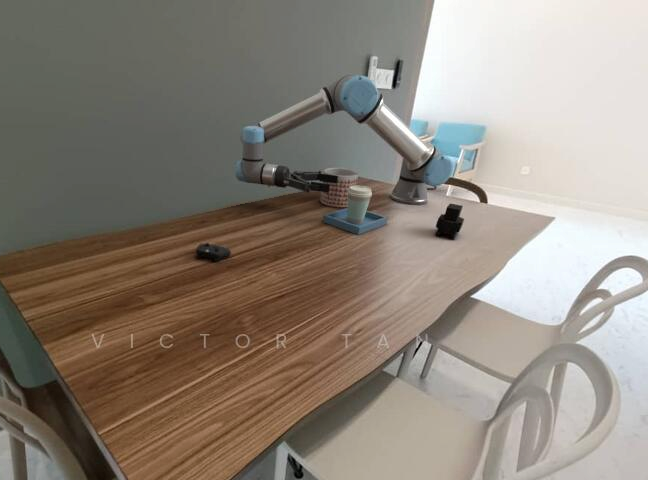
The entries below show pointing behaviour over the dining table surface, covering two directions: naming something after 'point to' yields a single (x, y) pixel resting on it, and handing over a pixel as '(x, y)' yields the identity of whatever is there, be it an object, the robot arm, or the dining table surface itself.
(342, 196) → the planter
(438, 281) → the dining table surface
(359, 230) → the tray
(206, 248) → the game controller
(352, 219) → the coffee cup
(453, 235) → the toy
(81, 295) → the dining table surface
